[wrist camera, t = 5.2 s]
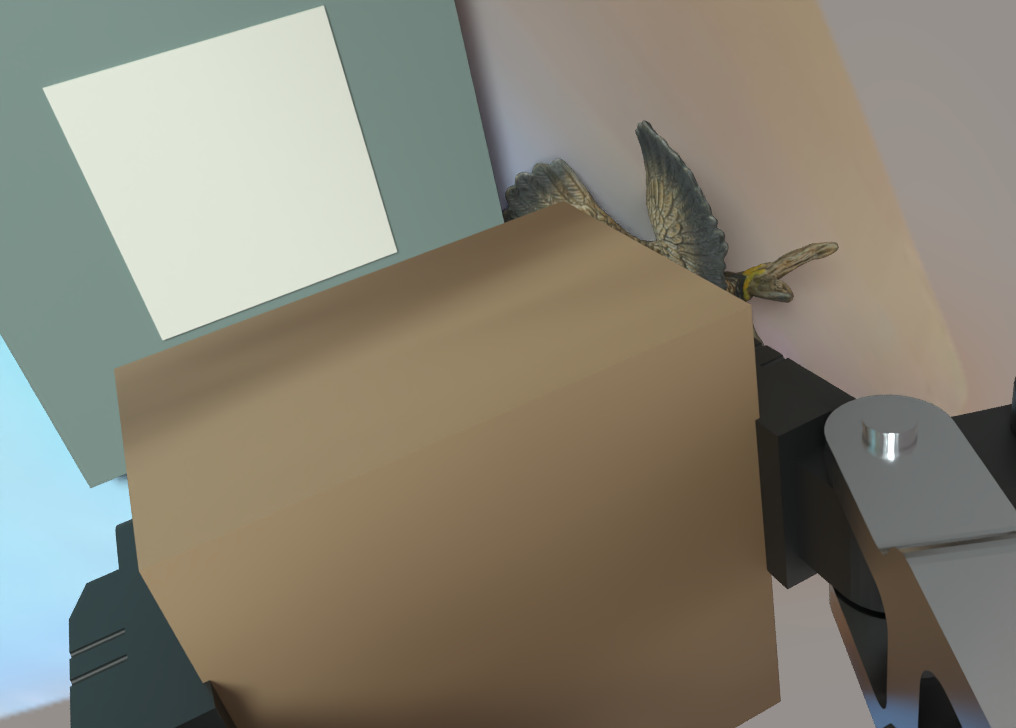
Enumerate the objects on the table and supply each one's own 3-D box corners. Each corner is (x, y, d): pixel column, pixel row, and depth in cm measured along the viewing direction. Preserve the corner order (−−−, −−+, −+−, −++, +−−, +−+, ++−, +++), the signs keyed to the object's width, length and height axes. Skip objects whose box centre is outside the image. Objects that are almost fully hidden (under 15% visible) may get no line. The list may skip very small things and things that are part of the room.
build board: (-199, -33, 20) (-214, -30, 18) (397, -179, 23) (414, -183, 22) (89, 466, 27) (90, 490, 26) (508, 296, 30) (524, 311, 29)
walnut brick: (113, 368, 11) (138, 571, 7) (564, 200, 12) (751, 304, 9) (282, 700, 14) (354, 947, 10) (624, 532, 15) (780, 701, 12)
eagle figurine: (794, 154, 32) (635, 47, 25) (880, 325, 28) (720, 249, 22) (632, 273, 36) (463, 206, 30) (690, 433, 33) (513, 395, 27)
